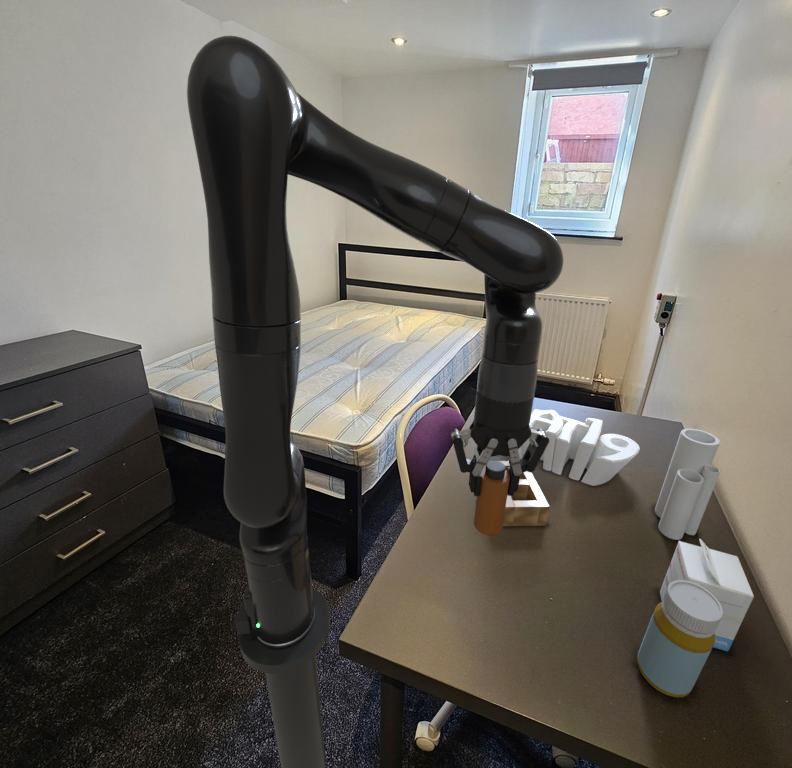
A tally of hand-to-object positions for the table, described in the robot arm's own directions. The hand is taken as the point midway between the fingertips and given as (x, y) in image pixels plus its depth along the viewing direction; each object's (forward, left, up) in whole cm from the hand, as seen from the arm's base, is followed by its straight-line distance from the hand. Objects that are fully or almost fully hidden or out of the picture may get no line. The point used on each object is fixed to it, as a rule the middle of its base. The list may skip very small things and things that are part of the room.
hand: (492, 491), depth 61 cm
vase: (+46, +16, -22) cm, 53 cm away
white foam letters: (+30, +41, -22) cm, 55 cm away
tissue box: (+34, -6, -22) cm, 41 cm away
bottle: (+24, -14, -22) cm, 35 cm away
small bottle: (0, 0, -6) cm, 6 cm away
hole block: (+13, +24, -21) cm, 35 cm away
